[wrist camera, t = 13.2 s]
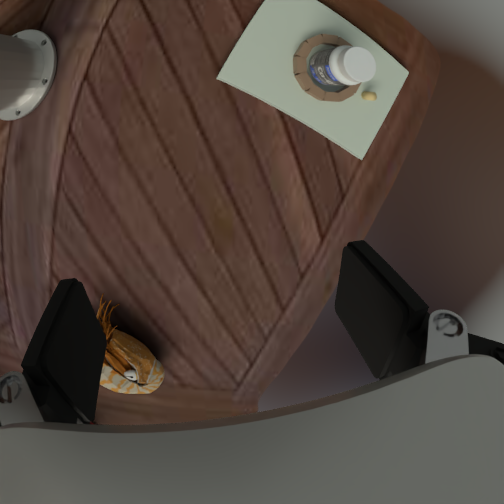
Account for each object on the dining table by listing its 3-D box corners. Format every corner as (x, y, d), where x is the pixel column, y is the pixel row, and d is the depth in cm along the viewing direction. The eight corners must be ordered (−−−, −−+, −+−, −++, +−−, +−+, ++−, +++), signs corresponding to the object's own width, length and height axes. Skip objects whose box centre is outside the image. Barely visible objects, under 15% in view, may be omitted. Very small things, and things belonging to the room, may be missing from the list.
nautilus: (72, 283, 40) (162, 287, 44) (92, 373, 49) (164, 376, 53) (59, 313, 33) (162, 319, 37) (88, 404, 42) (166, 408, 46)
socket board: (216, 78, 30) (218, 76, 27) (277, -18, 24) (284, -26, 21) (357, 158, 38) (369, 163, 36) (404, 72, 32) (417, 72, 30)
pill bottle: (301, 72, 30) (332, 68, 23) (318, 44, 28) (351, 33, 21) (332, 92, 32) (368, 94, 25) (348, 64, 30) (386, 60, 23)
